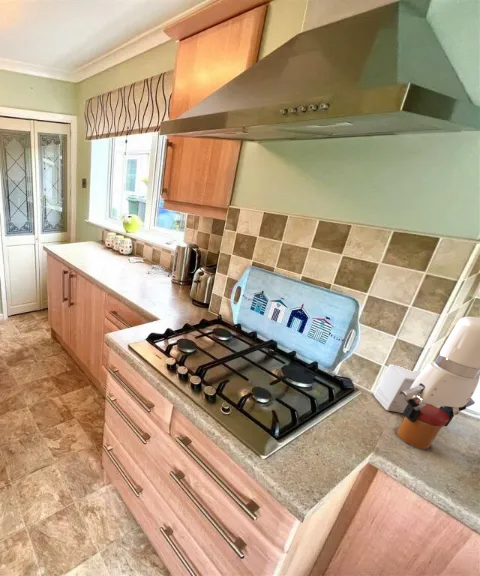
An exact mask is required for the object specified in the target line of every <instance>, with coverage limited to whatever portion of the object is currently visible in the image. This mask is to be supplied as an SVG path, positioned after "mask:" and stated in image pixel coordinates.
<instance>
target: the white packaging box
mask: <svg viewBox="0 0 480 576" xmlns="http://www.w3.org/2000/svg"><path fill="white" fill-rule="evenodd" d="M400 366H401V365H398V366H397V365H396V364H391V363H389V364H388V366H387V368H386V370H385V372H384V374H383V375H382V377H381V380H380V381H379V383H378V385H377V387H376V389H375V391H374V393H373V396H374V398H375V399H376V400H377V401H378V402H379V404H380V405H381V406H382V407H383V409H385V410H386V411H389V412H396V413H400V414H403V412H404V410H405V408H406V406H407V405H408V403H407V402H406V400H405V397H404V396H403V394H402V392H403V391H405V390H408V389H410V388H411V386H412V384H413V383H414V381H415V380H416V378H417V377H418V376H419V374H420V373H421V372H422V371H420V370H419V369H417V370H418V371H415V372H413V371H411V370H408V369H405V368H403V367H400ZM421 398H423V397H422V396H421ZM417 401H420V400H419V399H418V400H417Z"/></svg>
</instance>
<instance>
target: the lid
mask: <svg viewBox="0 0 480 576" xmlns="http://www.w3.org/2000/svg"><path fill="white" fill-rule="evenodd" d="M415 402H416V403H417V404H418V403H419V402H421V401H415ZM439 408H440V407H438V406H437V405H432V404H427V405H426V406H424V407H423V408H421V409H420V411H421V413H420V415H419V416H418V418H420V419H422V420H424V421H426V422H428V423H431V424H434V425H438V426H443V427H445V426H444V425H446V424H447V423H448V421H449V416H448V415H447V414H446V413H445V412H444V411H442V410H441V409H439Z"/></svg>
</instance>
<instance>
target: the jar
mask: <svg viewBox="0 0 480 576" xmlns="http://www.w3.org/2000/svg"><path fill="white" fill-rule="evenodd" d="M443 427H444V426H438V425H434V424H431V423H428V422H426V421H424V420H422V419H420V418H417V419H416V421H415V422H411V421H409V420H408V419H407V418H406V417H405V416H404V417H403V420H402V421H401V423H400V425H399V426H398V428H397V430H396V434H397V436H398V437H399V438H400V439H401V440H402V441H404V442H406V443H407V444H409V445H411V446H413V447H415V448H417V449H421V450H429V449H430V447H431V446H432V444H433V443H434V442H435V440H436V438H437V436H438V435H439V434H440V432H441V431H442V428H443Z"/></svg>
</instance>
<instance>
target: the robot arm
mask: <svg viewBox="0 0 480 576" xmlns="http://www.w3.org/2000/svg"><path fill="white" fill-rule="evenodd" d="M420 372H421V373H420V374H419V376H418V377H417V378H416V380H415V381H414V383H413V384H412V386H411V388H410V389H408V390H405V391H403V392H402V394H403V396H404V397H405V400H406V402H407V403H408V405H407V406H406V408H405V410H404V412H403V413H402V415H403V416H404V418H405V417H406V418H407V419H408V420H409V421H411V422H415V421H416V419H417V418H418V416H419V415H420V413H421V411H420V409H421V408H423V407H424V406H426V405H427V404H431V405H434V406H439V407H438V408H439V409H441V410H442V411H444V412H445V413H446V414H447V415H448V416H449V421H448V423H447V424H446V425H444V426H443V427H448V426H449V424H450V423H451V421H452V420H453V418H454V417H455V416H457V415H459V414H460V412H462V411H464V410H466V409H467V408H469V407H471V406H473V405H474V404H475V403H476V402H475V400H474V399H473V397H472V396H473V395H474V393H475V391H476V389H477V387H478V384H479V382H480V317H479V316H478V317H477V316H463V317H461V318H459V319H458V320H457V322H456V323H455V325H454V327H453V328H452V330H451V331H450V334H449V335H448V337H447V339H446V340H445V342H444V344H443V345H442V348H441V349H440V351H439V352H438V355H437V356H436V357H435V359H434V361H433V362H430V363H428V364H427V365H426V366H425V367H424V368H423V369H422V370H421V371H420ZM421 396H422V397H423V398H421ZM418 399H419V400H420V401H421V402H419V403H418V404H417V403H416V402H415V401H417V400H418Z"/></svg>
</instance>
